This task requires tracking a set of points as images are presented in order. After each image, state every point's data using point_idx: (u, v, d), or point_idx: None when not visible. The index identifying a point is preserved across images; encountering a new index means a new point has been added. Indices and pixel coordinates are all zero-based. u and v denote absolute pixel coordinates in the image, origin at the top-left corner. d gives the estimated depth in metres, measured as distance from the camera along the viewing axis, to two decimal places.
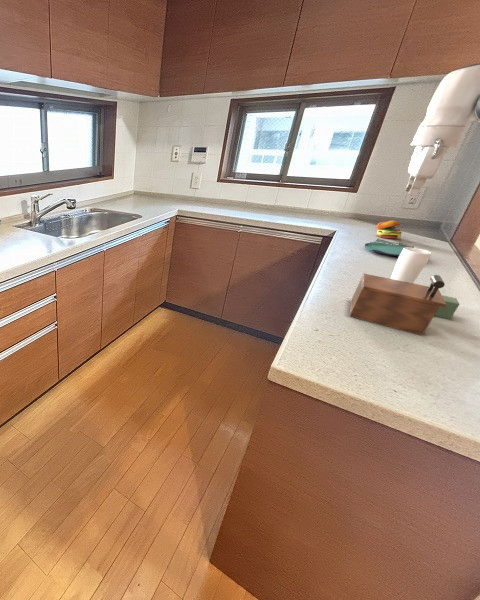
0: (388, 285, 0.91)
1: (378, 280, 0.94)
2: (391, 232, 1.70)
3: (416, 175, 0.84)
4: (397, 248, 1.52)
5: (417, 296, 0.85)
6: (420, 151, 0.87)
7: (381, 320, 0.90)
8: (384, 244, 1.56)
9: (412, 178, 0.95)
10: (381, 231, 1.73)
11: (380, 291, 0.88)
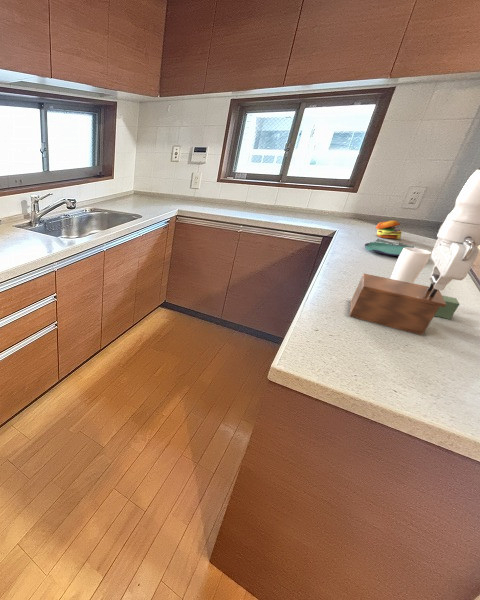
0: (388, 285, 0.91)
1: (378, 280, 0.94)
2: (391, 232, 1.70)
3: (444, 275, 0.77)
4: (397, 248, 1.52)
5: (417, 296, 0.85)
6: (447, 245, 0.80)
7: (381, 320, 0.90)
8: (384, 244, 1.56)
9: (437, 267, 0.87)
10: (381, 231, 1.73)
11: (380, 291, 0.88)
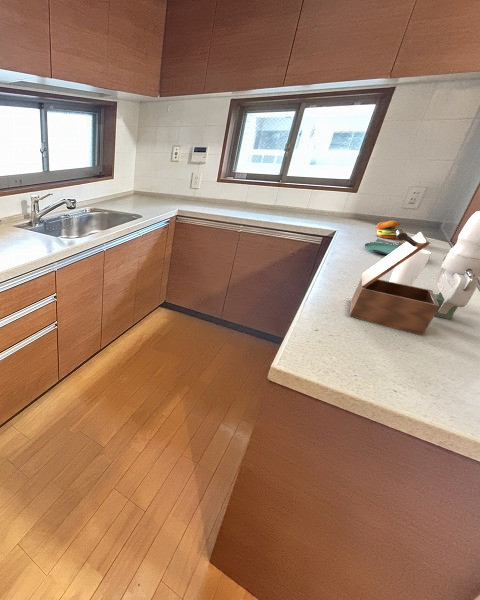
0: (380, 267, 0.90)
1: (373, 269, 0.94)
2: (391, 232, 1.70)
3: (448, 302, 0.88)
4: None
5: (403, 255, 0.84)
6: (451, 275, 0.91)
7: (381, 320, 0.90)
8: (384, 244, 1.56)
9: None
10: (381, 231, 1.73)
11: (376, 278, 0.87)
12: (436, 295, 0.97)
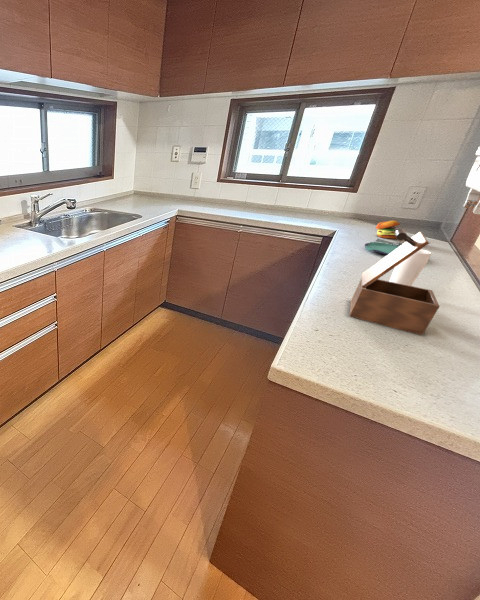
0: (380, 266, 0.90)
1: (373, 269, 0.94)
2: (391, 232, 1.70)
3: None
4: None
5: (403, 255, 0.84)
6: None
7: (381, 320, 0.90)
8: (384, 244, 1.56)
9: (473, 193, 0.81)
10: (381, 231, 1.73)
11: (376, 278, 0.87)
12: None
